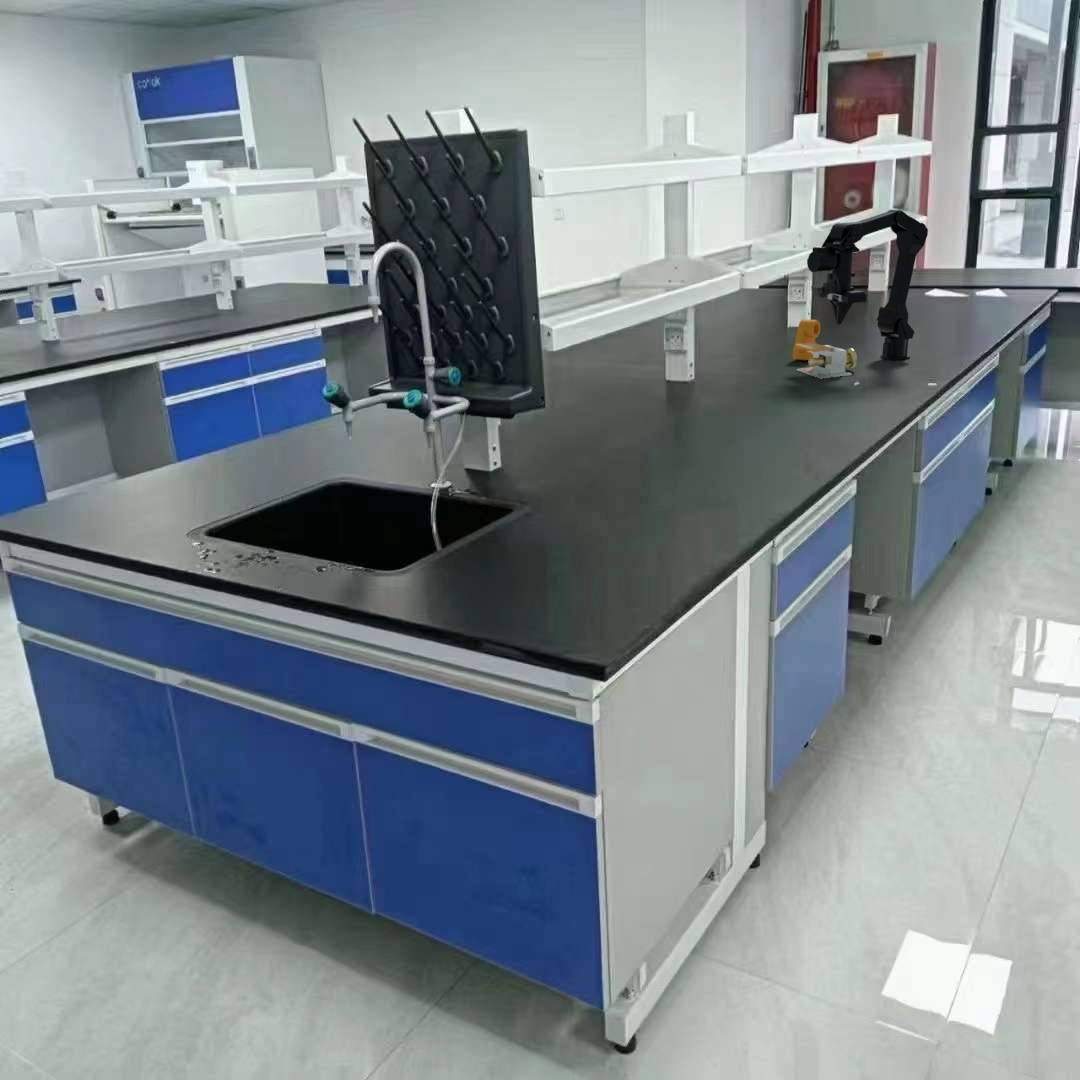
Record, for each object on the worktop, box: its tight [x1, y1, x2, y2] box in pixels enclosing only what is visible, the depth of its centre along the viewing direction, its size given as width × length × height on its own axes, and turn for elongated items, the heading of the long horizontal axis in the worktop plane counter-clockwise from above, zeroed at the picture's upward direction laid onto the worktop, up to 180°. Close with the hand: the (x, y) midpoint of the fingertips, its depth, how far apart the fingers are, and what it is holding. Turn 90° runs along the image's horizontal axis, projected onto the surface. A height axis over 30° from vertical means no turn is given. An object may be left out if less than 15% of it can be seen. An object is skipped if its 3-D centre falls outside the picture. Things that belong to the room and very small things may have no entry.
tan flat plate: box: [794, 342, 834, 352], centre depth 296 cm, size 6×10×1 cm, turn 16°
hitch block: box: [796, 344, 853, 380], centre depth 299 cm, size 10×13×7 cm
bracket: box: [792, 318, 821, 361], centre depth 318 cm, size 11×7×12 cm, turn 138°
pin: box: [807, 347, 858, 369], centre depth 299 cm, size 14×6×6 cm, turn 107°
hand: (838, 324), depth 303 cm, fingers closed
